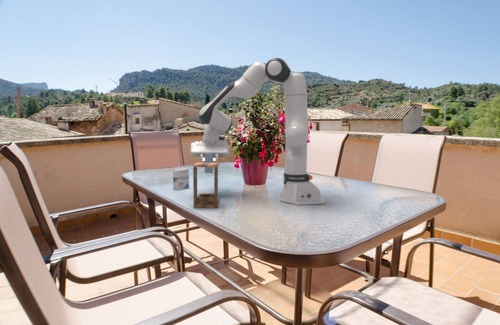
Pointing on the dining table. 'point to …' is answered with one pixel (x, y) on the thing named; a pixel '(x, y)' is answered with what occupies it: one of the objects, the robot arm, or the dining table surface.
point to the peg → (208, 159)
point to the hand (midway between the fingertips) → (209, 162)
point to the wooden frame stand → (206, 199)
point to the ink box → (180, 179)
